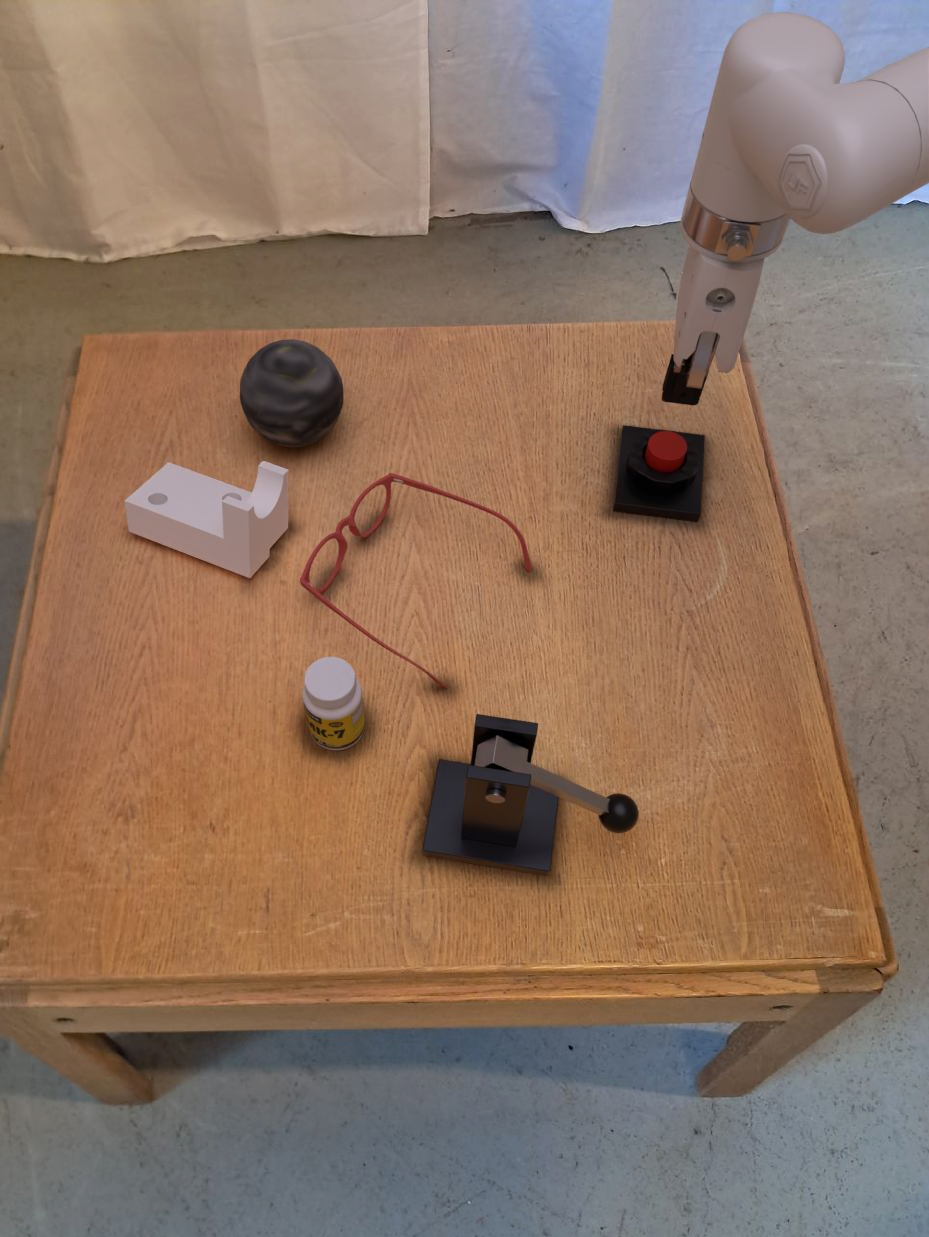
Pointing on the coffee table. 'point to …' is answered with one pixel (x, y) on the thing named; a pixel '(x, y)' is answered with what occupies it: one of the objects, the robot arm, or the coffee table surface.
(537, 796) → the bracket
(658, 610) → the coffee table surface
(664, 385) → the robot arm
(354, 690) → the supplement bottle
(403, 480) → the red eyeglasses
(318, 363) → the decorative stone
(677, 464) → the button
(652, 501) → the control block
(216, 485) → the bracket
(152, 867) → the coffee table surface
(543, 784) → the lever
